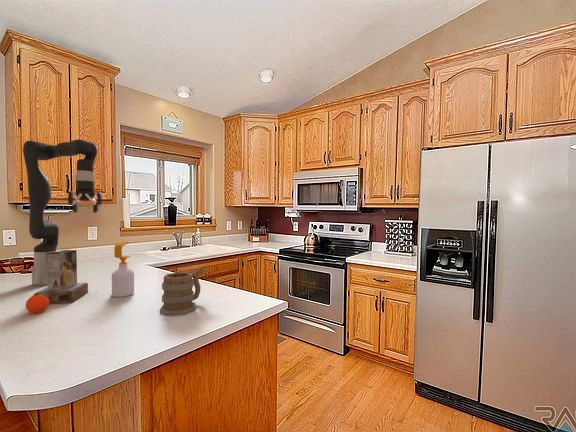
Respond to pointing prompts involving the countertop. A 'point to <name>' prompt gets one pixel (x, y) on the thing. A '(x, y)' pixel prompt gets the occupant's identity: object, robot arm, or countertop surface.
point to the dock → (65, 294)
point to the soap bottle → (122, 275)
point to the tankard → (180, 292)
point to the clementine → (37, 303)
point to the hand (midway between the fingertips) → (85, 212)
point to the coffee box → (61, 269)
